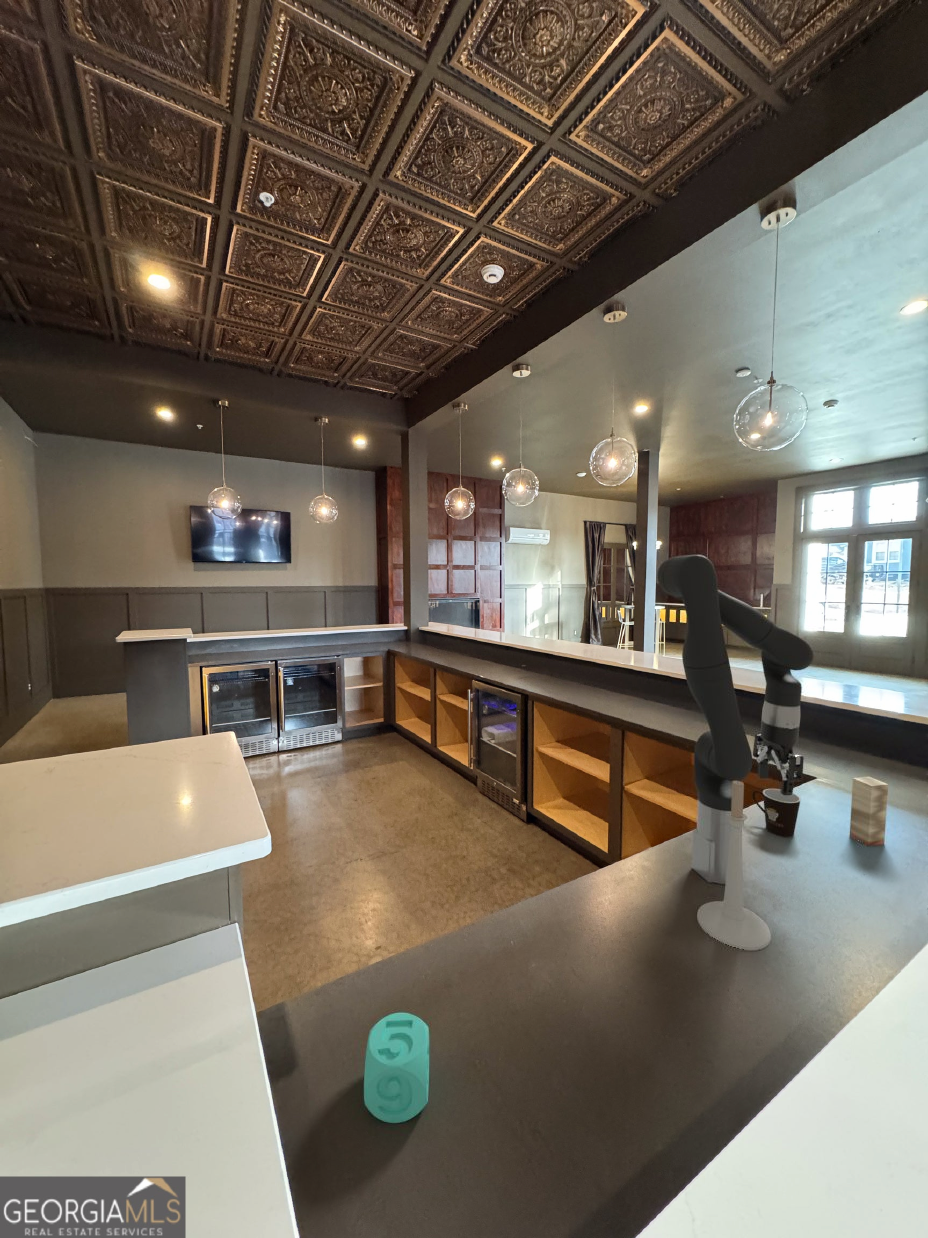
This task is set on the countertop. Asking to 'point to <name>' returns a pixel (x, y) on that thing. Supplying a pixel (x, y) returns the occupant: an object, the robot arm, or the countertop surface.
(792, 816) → the coffee mug
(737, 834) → the candlestick
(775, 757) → the robot arm
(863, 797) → the maple block
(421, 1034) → the decorative dice
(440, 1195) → the countertop surface
